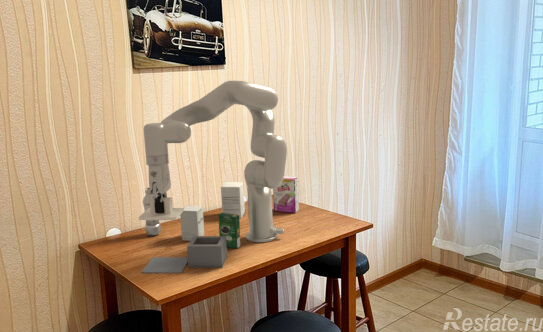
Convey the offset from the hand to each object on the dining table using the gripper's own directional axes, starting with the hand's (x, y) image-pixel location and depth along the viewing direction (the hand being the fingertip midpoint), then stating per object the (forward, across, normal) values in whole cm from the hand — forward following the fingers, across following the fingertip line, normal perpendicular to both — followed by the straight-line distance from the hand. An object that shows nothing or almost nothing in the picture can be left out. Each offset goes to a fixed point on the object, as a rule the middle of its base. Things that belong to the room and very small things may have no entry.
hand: (161, 210), depth 178 cm
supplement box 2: (+20, +57, -15) cm, 63 cm away
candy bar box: (+20, +63, -39) cm, 77 cm away
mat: (+20, 0, 0) cm, 20 cm away
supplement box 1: (+20, +28, -3) cm, 35 cm away
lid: (+2, 0, 0) cm, 2 cm away
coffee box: (+20, +18, -20) cm, 34 cm away
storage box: (+20, +3, -15) cm, 25 cm away
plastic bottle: (+20, +32, +15) cm, 41 cm away
